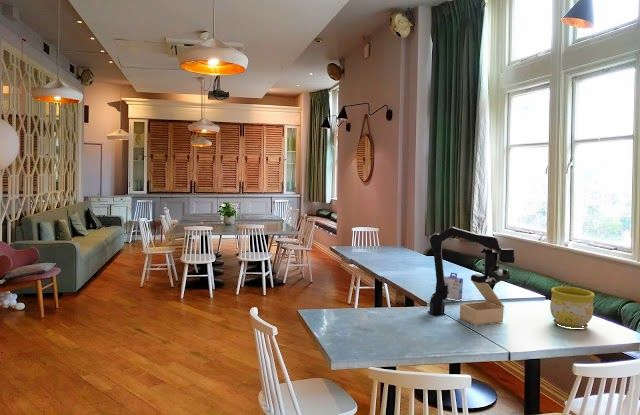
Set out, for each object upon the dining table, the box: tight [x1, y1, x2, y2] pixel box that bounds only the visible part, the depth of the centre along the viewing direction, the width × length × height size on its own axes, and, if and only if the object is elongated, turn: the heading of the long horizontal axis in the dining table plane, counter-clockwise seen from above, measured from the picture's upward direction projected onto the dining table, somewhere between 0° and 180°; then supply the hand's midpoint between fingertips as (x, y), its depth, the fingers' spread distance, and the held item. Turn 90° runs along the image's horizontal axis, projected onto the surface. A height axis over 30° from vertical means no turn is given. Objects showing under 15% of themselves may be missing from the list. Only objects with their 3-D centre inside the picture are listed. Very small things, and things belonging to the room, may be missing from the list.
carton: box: [459, 300, 505, 326], centre depth 234 cm, size 16×12×7 cm
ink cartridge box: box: [444, 272, 464, 300], centre depth 270 cm, size 10×6×14 cm, turn 53°
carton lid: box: [471, 281, 505, 308], centre depth 234 cm, size 16×12×1 cm
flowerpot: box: [549, 286, 596, 329], centre depth 229 cm, size 18×18×16 cm
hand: (489, 294), depth 235 cm, fingers closed, pressing on carton lid
